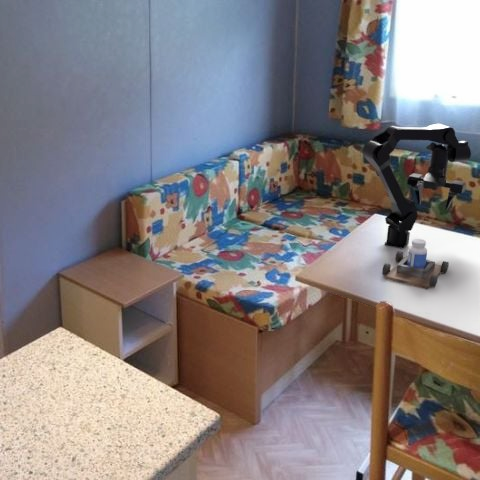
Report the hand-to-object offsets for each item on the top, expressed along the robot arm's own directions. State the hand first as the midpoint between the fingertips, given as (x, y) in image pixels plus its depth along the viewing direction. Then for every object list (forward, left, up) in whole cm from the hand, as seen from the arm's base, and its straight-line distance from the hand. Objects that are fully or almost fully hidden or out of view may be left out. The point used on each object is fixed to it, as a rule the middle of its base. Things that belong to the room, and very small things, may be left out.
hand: (432, 207), depth 230 cm
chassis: (+5, -31, -12) cm, 34 cm away
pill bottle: (+5, -31, -11) cm, 33 cm away
